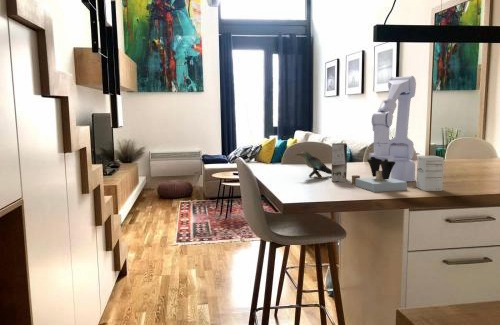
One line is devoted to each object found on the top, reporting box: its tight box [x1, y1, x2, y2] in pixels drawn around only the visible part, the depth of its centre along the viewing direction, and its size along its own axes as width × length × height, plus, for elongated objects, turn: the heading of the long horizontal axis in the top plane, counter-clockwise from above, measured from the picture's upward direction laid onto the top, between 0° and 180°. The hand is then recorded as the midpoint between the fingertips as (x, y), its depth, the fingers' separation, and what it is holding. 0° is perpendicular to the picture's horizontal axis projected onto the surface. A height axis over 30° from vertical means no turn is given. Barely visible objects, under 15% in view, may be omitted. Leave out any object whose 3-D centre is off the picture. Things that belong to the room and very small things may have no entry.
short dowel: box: [351, 174, 361, 185], centre depth 173 cm, size 3×3×4 cm
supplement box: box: [415, 155, 445, 192], centre depth 160 cm, size 7×7×13 cm
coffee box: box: [331, 142, 348, 183], centre depth 183 cm, size 9×6×16 cm
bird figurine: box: [295, 150, 332, 180], centre depth 192 cm, size 13×10×20 cm
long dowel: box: [376, 170, 384, 181], centre depth 164 cm, size 3×3×6 cm
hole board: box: [354, 176, 408, 193], centre depth 164 cm, size 14×14×3 cm
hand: (380, 177), depth 164 cm, fingers open, 7 cm apart
